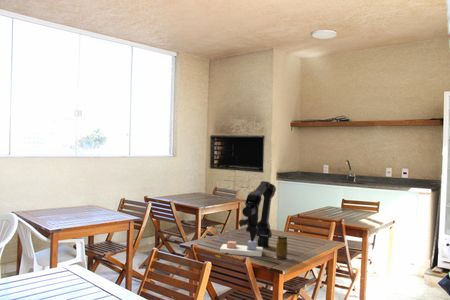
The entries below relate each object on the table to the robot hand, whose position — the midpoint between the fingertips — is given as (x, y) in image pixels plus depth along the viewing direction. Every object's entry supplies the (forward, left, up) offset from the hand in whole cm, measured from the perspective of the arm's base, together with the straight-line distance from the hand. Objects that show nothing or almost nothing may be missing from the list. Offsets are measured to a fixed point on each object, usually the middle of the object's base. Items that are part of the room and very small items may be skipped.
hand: (252, 241), depth 228 cm
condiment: (-18, +5, -7) cm, 20 cm away
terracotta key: (+12, 0, -6) cm, 13 cm away
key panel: (+6, 0, -7) cm, 9 cm away
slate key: (0, 0, -4) cm, 4 cm away
